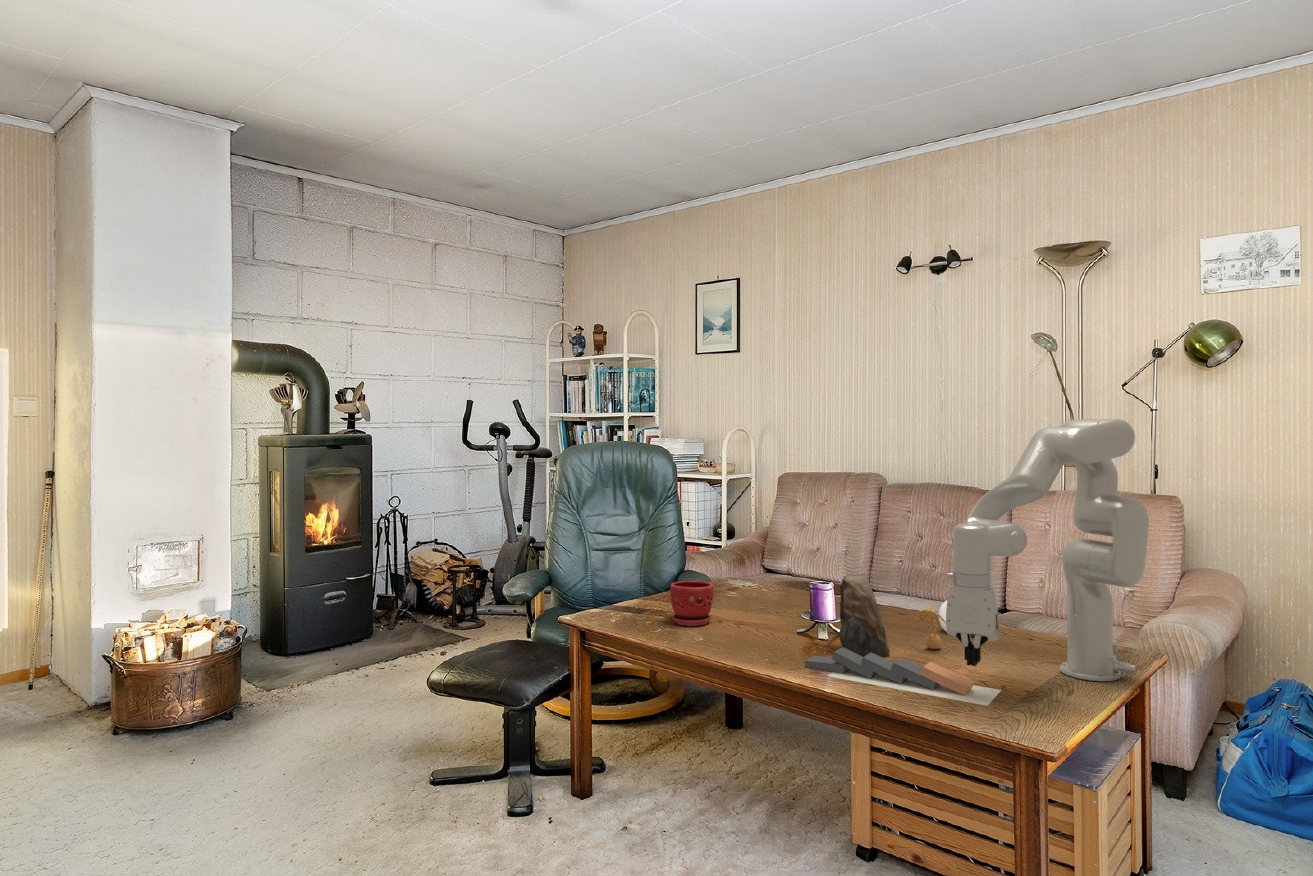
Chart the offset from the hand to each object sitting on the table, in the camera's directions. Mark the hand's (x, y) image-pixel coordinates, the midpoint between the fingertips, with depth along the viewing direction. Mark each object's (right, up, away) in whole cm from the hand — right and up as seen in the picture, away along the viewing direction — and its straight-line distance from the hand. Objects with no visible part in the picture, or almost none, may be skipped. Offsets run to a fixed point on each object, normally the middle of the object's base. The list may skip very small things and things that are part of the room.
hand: (972, 664), depth 175 cm
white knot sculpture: (+17, -6, +53) cm, 56 cm away
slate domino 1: (-23, -5, +17) cm, 29 cm away
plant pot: (-58, -7, +69) cm, 90 cm away
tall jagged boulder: (-15, -7, +32) cm, 36 cm away
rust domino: (0, -6, +1) cm, 6 cm away
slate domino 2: (-18, -6, +13) cm, 23 cm away
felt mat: (-11, -7, +8) cm, 15 cm away
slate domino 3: (-12, -6, +9) cm, 16 cm away
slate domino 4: (-6, -6, +4) cm, 9 cm away
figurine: (+3, -7, +36) cm, 37 cm away
